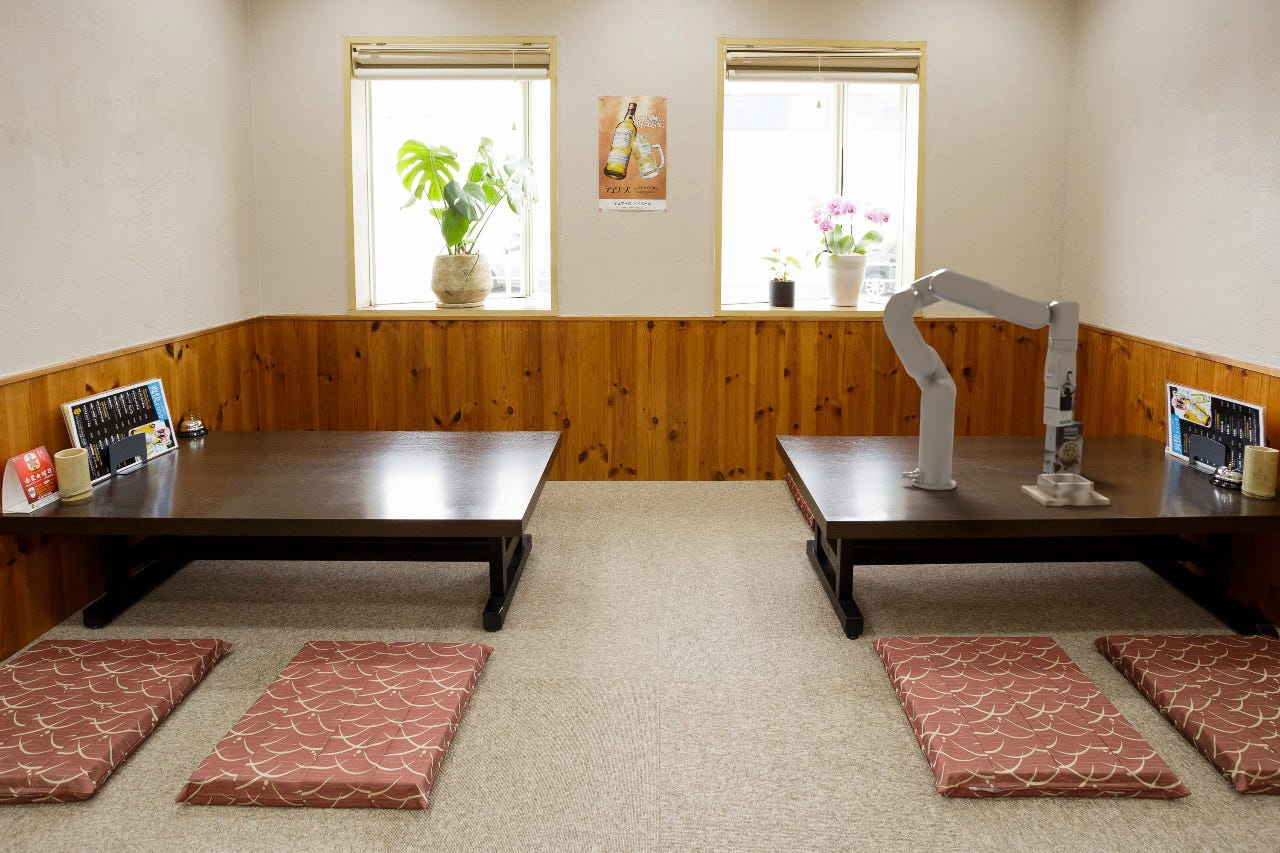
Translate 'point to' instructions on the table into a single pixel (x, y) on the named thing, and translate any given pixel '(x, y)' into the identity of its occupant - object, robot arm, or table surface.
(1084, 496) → the holder
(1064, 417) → the syrup box
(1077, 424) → the coffee box
